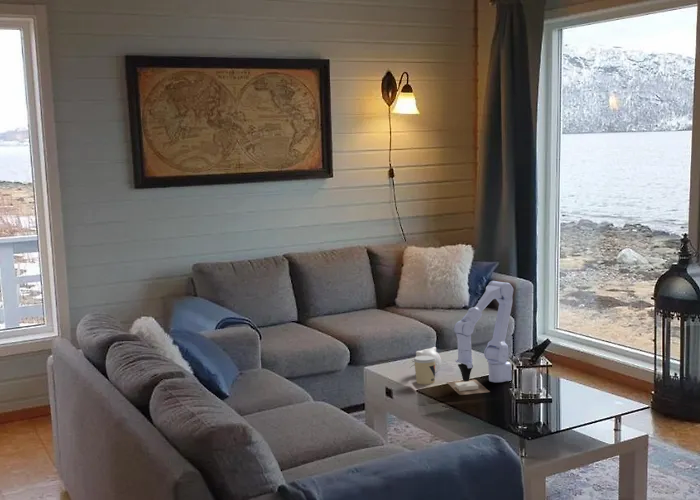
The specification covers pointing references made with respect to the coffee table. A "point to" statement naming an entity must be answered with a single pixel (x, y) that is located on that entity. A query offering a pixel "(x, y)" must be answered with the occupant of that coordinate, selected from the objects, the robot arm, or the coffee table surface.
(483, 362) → the coffee table surface
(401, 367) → the coffee table surface
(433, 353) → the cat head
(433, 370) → the coffee cup
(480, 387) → the board
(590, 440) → the coffee table surface
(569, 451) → the coffee table surface
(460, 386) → the tile
